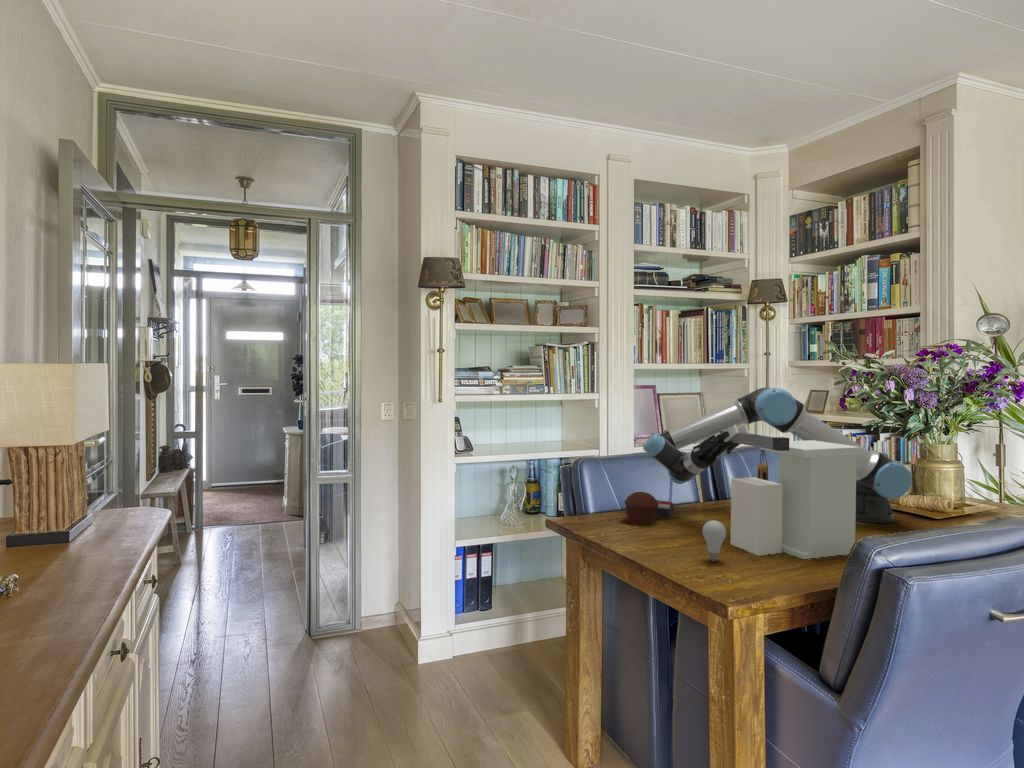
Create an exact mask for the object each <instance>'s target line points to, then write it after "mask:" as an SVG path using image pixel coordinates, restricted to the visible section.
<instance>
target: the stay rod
mask: <svg viewBox="0 0 1024 768" xmlns="http://www.w3.org/2000/svg"><path fill="white" fill-rule="evenodd" d="M725 431H726V430H720V433H719V434H722V433H724V432H725ZM723 441H724V440H723ZM789 441H790V437H785V436H780V437H779V436H777V437H776V436H774V437H773V436H769V435H762V434H761V435H760V434H756V433H750V432H749V433H743V432H739V433H738V434H737V435H735V436H734V437H733V438H731V439H730V440H728V442H733V443H739V444H740V445H745V446H751V447H757V448H759V447H761V448H766V449H772V450H777V451H789Z"/></svg>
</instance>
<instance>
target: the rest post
mask: <svg viewBox="0 0 1024 768" xmlns="http://www.w3.org/2000/svg"><path fill="white" fill-rule="evenodd" d="M730 480H731V482H730V484H731V485H730V545H731V546H733V545H734V547H736V548H738V547H739V548H738V549H741V550H743V549H744V551H745V550H746V552H748V553H751V554H753V555H756V556H758V557H760V556H768V554H770V555H776V553H779V554H782V553H783V552H782V497H783V484H780V483H779V482H776V481H772V480H771V481H770V480H768V481H767V480H763V479H759V478H758V477H754V476H753V477H736V478H730Z"/></svg>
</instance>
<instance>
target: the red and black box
mask: <svg viewBox="0 0 1024 768" xmlns="http://www.w3.org/2000/svg"><path fill="white" fill-rule="evenodd" d="M656 501H657V502H658V504H659V505H658V508H657V514H656V515H659V516H658V517H665V516H668V517H669V518H670V517H671V515H672V514H673V512H674V507H675V506H674V503H673V502H672V501H666V500H665V501H664V500H658V499H656ZM672 511H673V512H672Z"/></svg>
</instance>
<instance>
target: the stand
mask: <svg viewBox="0 0 1024 768" xmlns="http://www.w3.org/2000/svg"><path fill="white" fill-rule="evenodd" d="M862 447H863V446H862ZM862 447H857V446H850V445H843V444H836V443H829V442H822V441H815V440H807V441H803V440H791V441H790V440H789V451H777V450H772V449H766V448H761V447H758V449H759V450H760V451H761V450H762V451H767V452H772V453H773V452H774V453H778V483H780V484H783V497H782V553H784V552H785V553H784V554H786V553H787V555H789V554H790V555H789V556H791V555H793V556H792V557H794V556H796V557H795V558H797V557H798V558H797V559H799V558H801V559H800V560H802V559H808V560H811V559H810V558H816V559H819V558H818V557H825V558H827V557H826V556H834V557H836V556H835V555H843V556H848V554H849V551H850V549H851V548H852V546H853V545H854V543H855V544H856V520H855V517H856V458H857V455H859V454H862ZM844 554H845V555H844Z"/></svg>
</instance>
